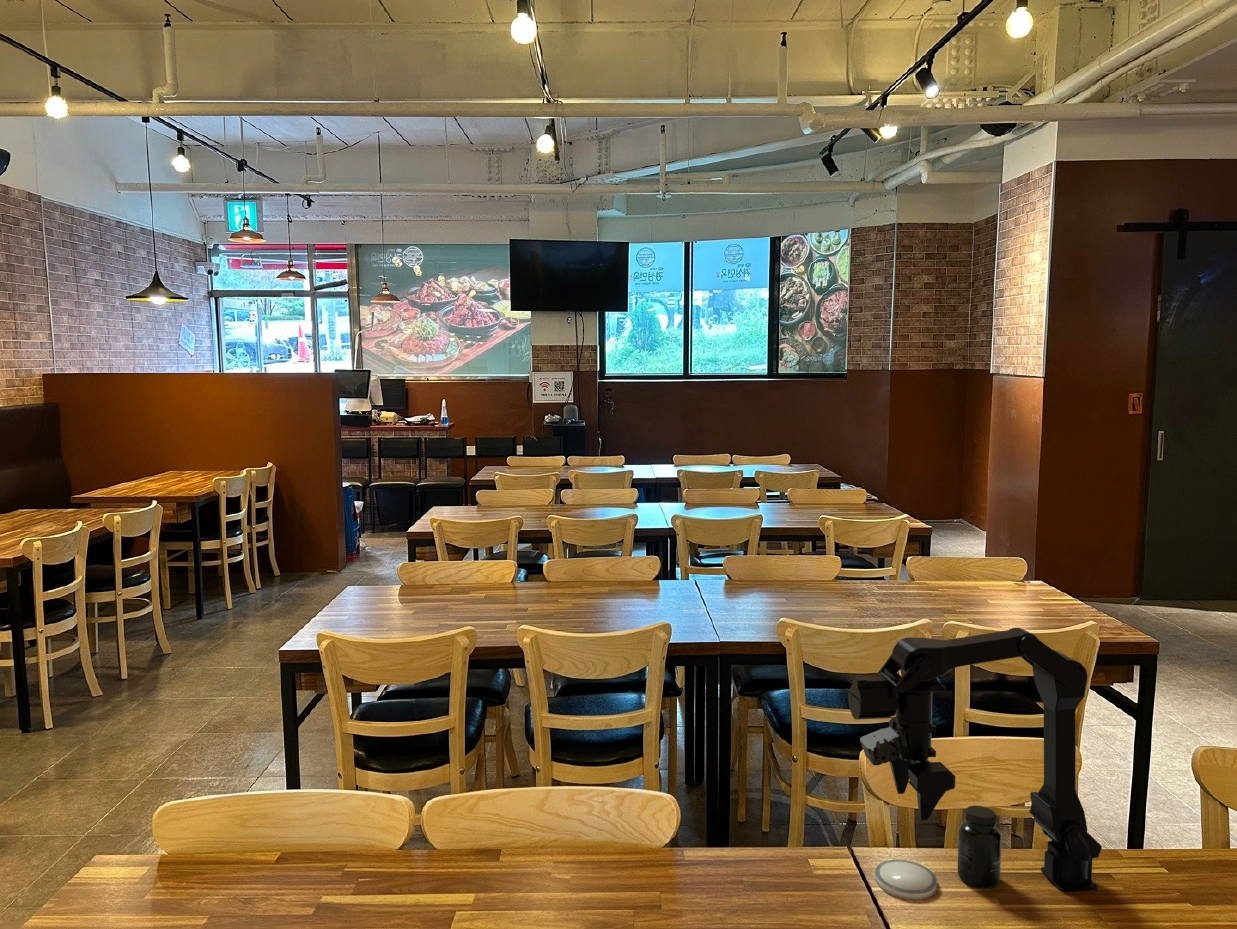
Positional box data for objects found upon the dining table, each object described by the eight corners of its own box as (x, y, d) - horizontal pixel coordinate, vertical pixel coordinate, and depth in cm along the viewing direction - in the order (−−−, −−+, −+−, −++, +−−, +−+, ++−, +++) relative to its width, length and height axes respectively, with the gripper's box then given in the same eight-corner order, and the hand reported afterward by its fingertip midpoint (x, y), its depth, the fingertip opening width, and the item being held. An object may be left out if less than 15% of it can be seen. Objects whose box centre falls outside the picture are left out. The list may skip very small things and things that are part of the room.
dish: (921, 864, 152) (921, 858, 152) (947, 898, 142) (947, 890, 142) (866, 867, 152) (866, 861, 151) (888, 901, 142) (888, 894, 141)
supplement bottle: (1004, 892, 144) (1006, 823, 143) (961, 887, 145) (963, 819, 144) (995, 869, 151) (997, 804, 150) (954, 865, 152) (955, 800, 151)
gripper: (846, 698, 151) (845, 783, 152) (888, 741, 132) (886, 837, 134) (908, 695, 152) (906, 780, 153) (958, 738, 133) (955, 834, 135)
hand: (911, 806), depth 144 cm, fingers open, 9 cm apart
